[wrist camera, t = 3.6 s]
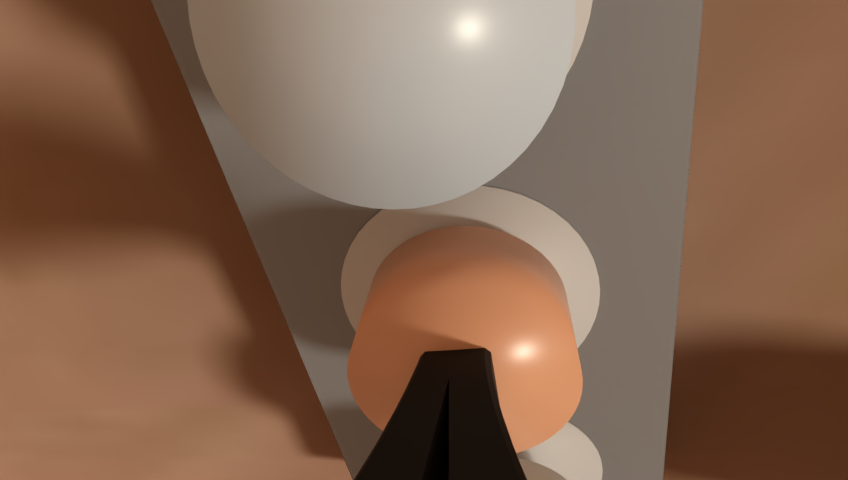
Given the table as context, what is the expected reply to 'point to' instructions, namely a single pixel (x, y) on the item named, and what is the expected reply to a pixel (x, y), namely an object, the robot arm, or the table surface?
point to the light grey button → (386, 88)
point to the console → (514, 231)
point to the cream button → (538, 471)
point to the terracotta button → (470, 326)
